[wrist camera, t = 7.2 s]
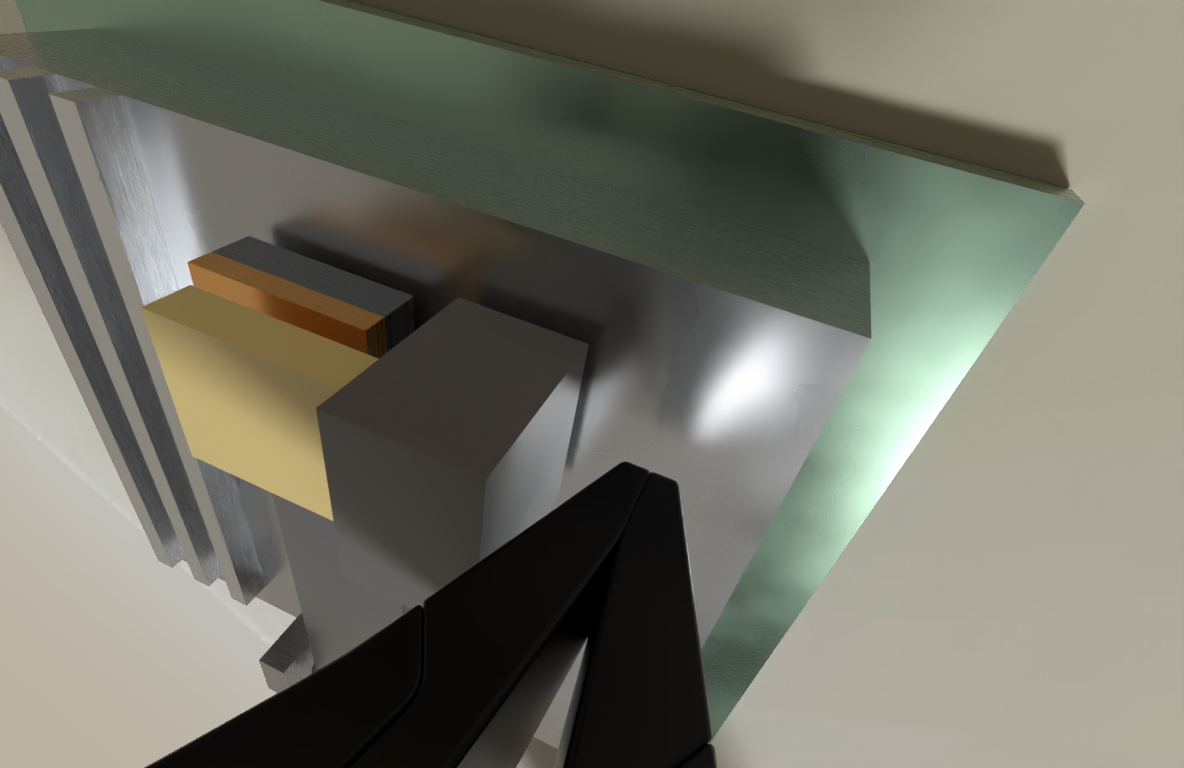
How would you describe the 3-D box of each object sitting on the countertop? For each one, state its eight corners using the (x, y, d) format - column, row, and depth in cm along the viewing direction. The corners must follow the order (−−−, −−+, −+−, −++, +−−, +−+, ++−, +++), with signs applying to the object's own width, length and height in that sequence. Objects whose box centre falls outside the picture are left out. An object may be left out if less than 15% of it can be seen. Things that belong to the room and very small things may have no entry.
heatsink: (691, 756, 19) (653, 926, 16) (225, 530, 23) (111, 628, 20) (1071, 190, 8) (1236, 355, 4) (19, -86, 11) (-349, -115, 8)
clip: (559, 493, 10) (472, 638, 8) (303, 386, 11) (161, 488, 9) (589, 343, 8) (485, 480, 6) (278, 232, 9) (90, 313, 7)
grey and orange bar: (428, 701, 17) (403, 743, 16) (334, 653, 18) (305, 691, 17) (423, 295, 9) (371, 332, 8) (249, 231, 9) (181, 260, 8)
